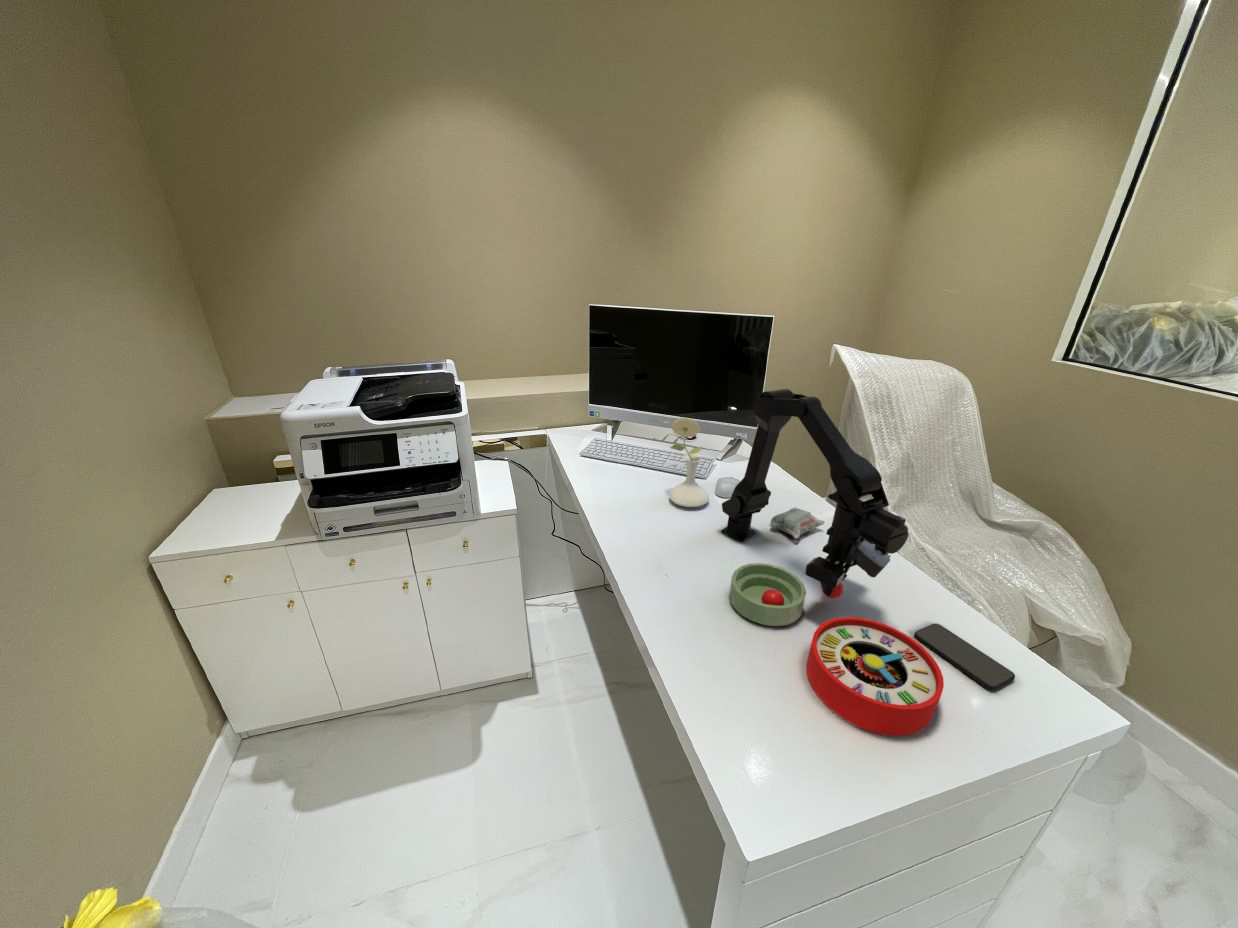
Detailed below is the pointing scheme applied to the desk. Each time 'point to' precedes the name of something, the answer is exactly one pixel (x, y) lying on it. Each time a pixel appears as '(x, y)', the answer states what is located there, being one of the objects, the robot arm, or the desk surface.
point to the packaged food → (795, 522)
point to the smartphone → (965, 656)
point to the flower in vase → (688, 468)
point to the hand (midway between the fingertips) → (831, 590)
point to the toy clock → (874, 676)
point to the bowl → (759, 579)
